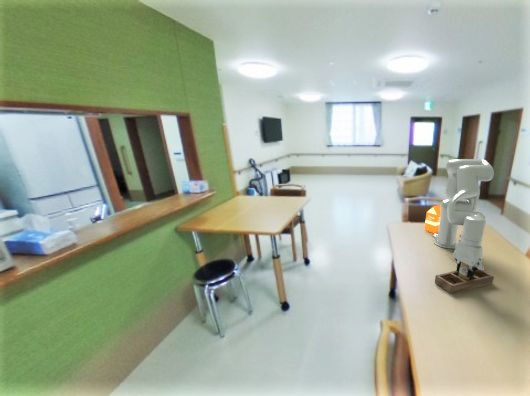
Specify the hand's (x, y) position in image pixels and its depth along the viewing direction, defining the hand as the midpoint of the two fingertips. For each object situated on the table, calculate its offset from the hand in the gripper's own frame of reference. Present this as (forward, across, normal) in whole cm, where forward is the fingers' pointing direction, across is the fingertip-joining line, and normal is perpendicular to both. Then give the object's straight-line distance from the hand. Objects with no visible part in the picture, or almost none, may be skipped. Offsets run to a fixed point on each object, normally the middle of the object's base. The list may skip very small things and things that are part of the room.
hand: (464, 273), depth 116 cm
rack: (+6, 0, 0) cm, 6 cm away
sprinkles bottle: (+4, 0, 0) cm, 4 cm away
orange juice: (+6, -54, +41) cm, 68 cm away
